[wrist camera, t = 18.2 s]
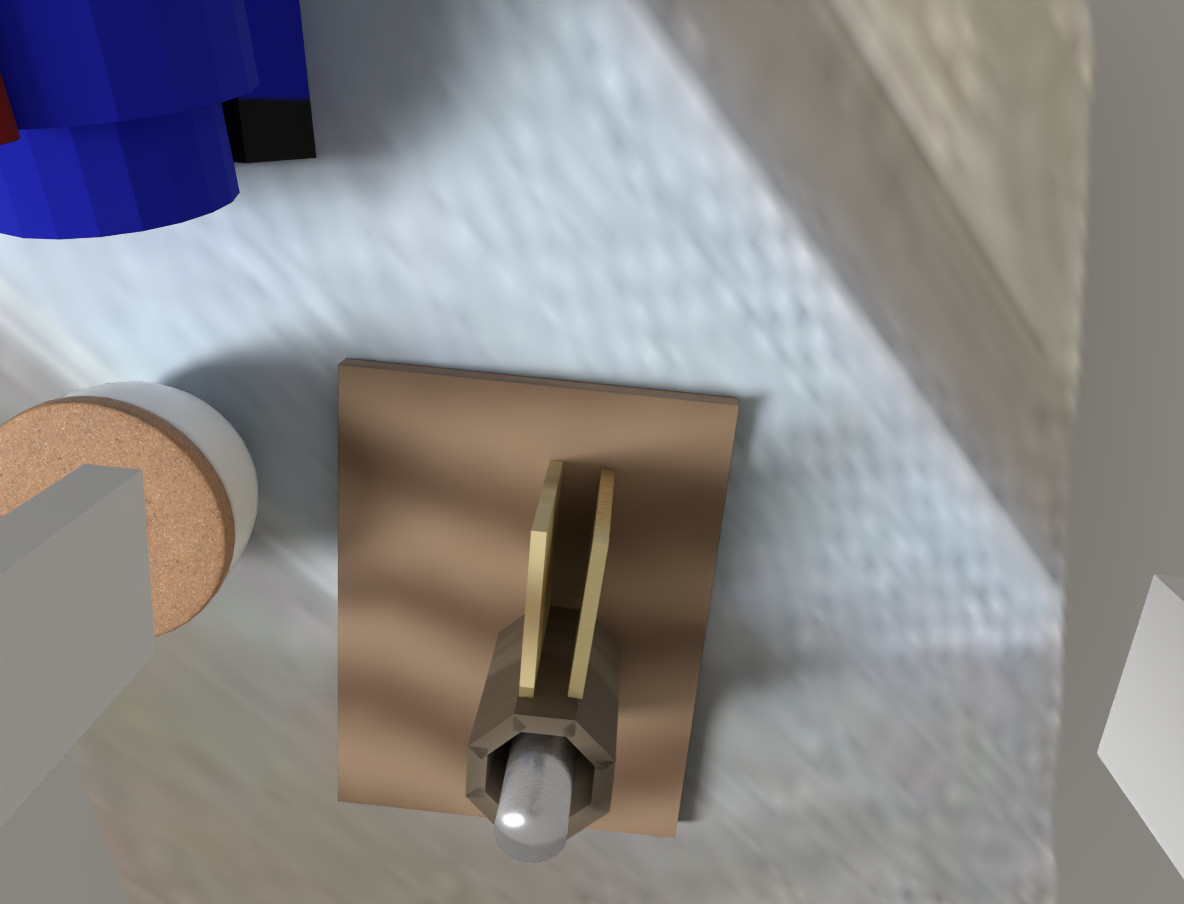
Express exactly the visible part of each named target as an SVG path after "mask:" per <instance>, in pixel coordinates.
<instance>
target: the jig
mask: <svg viewBox="0 0 1184 904" xmlns="http://www.w3.org/2000/svg"><path fill="white" fill-rule="evenodd" d="M738 409H739V404H738V401H737V398H733V397H723V396H713V395H703V394H693V393H683V392H673V391H663V390H653V389H643V388H634V387H624V386H614V385H604V384H594V383H584V382H574V381H564V380H554V379H544V378H535V377H525V376H515V375H505V374H495V373H485V372H475V371H465V370H455V369H446V368H436V367H426V366H416V365H406V364H396V363H386V362H376V361H366V360H356V359H347V358H346V359H345V360H344V361H342V362H341V363H340V364H339V365H338V801H341V802H350V803H359V804H368V805H378V806H387V807H396V808H405V809H414V810H423V811H433V812H442V813H451V814H460V815H469V816H478V817H487V818H488V819H489V820H490V821H491V822H492V823H493V824H495V819H496V815H497V810H498V805H499V800H500V795H501V791H502V786H503V781H504V776H505V772H506V767H507V762H508V757H509V753H510V748H511V743H512V738H513V737H514V736H516V735H517V734H518V733H520V732H527V733H536V734H546V735H555V736H564V737H567V738H568V739H569V740H570V741H571V742H572V743H573V744H574V745H575V746H576V747H577V748H576V757H575V767H574V776H573V785H572V795H571V804H570V813H569V822H568V832H567V839H568V838H570V837H572V836H573V835H575V834H576V833H578V832H579V831H581V830H582V829H584V828H588V829H597V830H607V831H616V832H625V833H634V834H643V835H652V836H662V837H671V838H675V835H676V828H677V821H678V815H679V808H680V801H681V794H682V788H683V781H684V774H685V767H686V760H687V754H688V747H689V740H690V733H691V727H692V720H693V713H694V706H695V700H696V693H697V686H698V679H699V673H700V666H701V659H702V652H703V646H704V639H705V632H706V625H707V619H708V612H709V605H710V598H711V592H712V585H713V578H714V571H715V565H716V558H717V551H718V544H719V538H720V531H721V524H722V517H723V511H724V504H725V497H726V490H727V484H728V477H729V470H730V463H731V457H732V450H733V443H734V436H735V429H736V423H737V416H738ZM602 469H605V470H611V471H615V473H614V486H613V498H612V510H611V522H610V534H609V545H608V551H607V557H606V563H605V568H604V574H603V580H602V586H601V592H600V598H599V604H598V609H597V615H596V621H595V627H594V633H593V639H592V645H591V651H590V656H589V662H588V668H587V674H586V680H585V686H584V692H583V697H582V699H579V698H572V697H568V690H569V682H570V674H571V667H572V659H573V651H574V644H575V636H576V628H577V621H578V613H579V605H580V599H581V593H582V587H583V581H584V574H585V568H586V562H587V556H588V550H589V544H590V538H591V531H592V525H593V519H594V513H595V507H596V501H597V495H598V489H599V482H600V476H601V470H602ZM567 839H566V840H567Z"/></svg>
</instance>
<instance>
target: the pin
mask: <svg viewBox="0 0 1184 904" xmlns="http://www.w3.org/2000/svg"><path fill="white" fill-rule="evenodd" d="M576 748H577V747H576V746H575V745H574V744H573V743H572V742H571V741H570V740H569V739H568V738H567V737H564V736H555V735H546V734H536V733H527V732H520V733H518V734H517V735H516V736H514V737H513V738H512V743H511V748H510V753H509V757H508V762H507V767H506V772H505V776H504V781H503V786H502V791H501V795H500V800H499V805H498V810H497V815H496V819H495V824H494V837H495V840H496V842H497V844H498V846H499V847H500V848H501V849H502V851H504V852H505V853H506V854H507V855H509V856H510V857H512V858H514V859H517V860H520V861H523V862H542V861H546V860H548V859H551V858H553V857H554V856H556V855H557V854H558V853H559V852H560V851H561V850H562V849H563V847H564V845H565V843H566V839H567V832H568V822H569V813H570V804H571V795H572V785H573V776H574V767H575V757H576Z"/></svg>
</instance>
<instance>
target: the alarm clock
mask: <svg viewBox="0 0 1184 904" xmlns="http://www.w3.org/2000/svg"><path fill="white" fill-rule="evenodd" d="M306 158H316V150H315V141H314V132H313V123H312V114H311V105H310V96H309V86H308V77H307V68H306V59H305V50H304V41H303V32H302V22H301V13H300V4H299V0H0V233H2V234H7V235H12V236H16V237H21V238H36V239H75V238H92V237H104V236H111V235H118V234H126V233H133V232H140V231H146V230H150V229H155V228H159V227H164V226H168V225H173V224H178V223H182V222H185V221H188V220H191V219H194V218H197V217H200V216H203V215H206V214H209V213H212V212H214V211H216V210H218V209H220V208H222V207H224V206H226V205H228V204H230V203H231V202H233V200H234V199H235V198H236V197H237V195H238V194H239V193H240V191H239V187H238V182H237V177H236V172H235V167H234V162H238V163H254V162H267V161H280V160H293V159H306Z"/></svg>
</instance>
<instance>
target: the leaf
mask: <svg viewBox="0 0 1184 904" xmlns="http://www.w3.org/2000/svg"><path fill="white" fill-rule="evenodd" d="M614 473H615V471H611V470H605V469H602V470H601V476H600V482H599V489H598V495H597V501H596V507H595V513H594V519H593V525H592V531H591V538H590V544H589V550H588V556H587V562H586V568H585V574H584V581H583V587H582V593H581V599H580V605H579V613H578V621H577V628H576V636H575V644H574V651H573V659H572V667H571V674H570V682H569V690H568V697H572V698H579V699H582V697H583V692H584V686H585V680H586V674H587V668H588V662H589V656H590V651H591V645H592V639H593V633H594V627H595V621H596V615H597V609H598V604H599V598H600V592H601V586H602V580H603V574H604V568H605V563H606V557H607V551H608V545H609V534H610V522H611V510H612V498H613V486H614Z"/></svg>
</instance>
